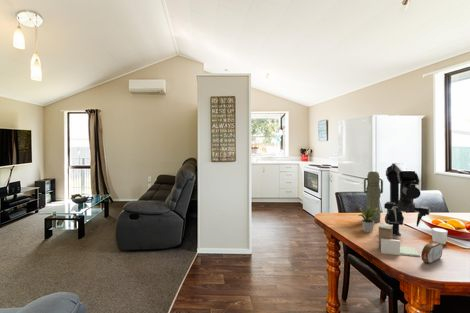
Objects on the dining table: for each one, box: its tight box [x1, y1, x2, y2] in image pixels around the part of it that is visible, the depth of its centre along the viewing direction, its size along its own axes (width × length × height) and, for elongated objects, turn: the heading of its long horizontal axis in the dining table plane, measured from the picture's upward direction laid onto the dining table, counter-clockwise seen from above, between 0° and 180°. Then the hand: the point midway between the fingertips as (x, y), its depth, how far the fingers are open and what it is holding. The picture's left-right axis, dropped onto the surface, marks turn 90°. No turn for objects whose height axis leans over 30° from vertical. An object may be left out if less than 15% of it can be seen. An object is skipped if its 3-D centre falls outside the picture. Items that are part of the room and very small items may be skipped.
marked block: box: [378, 222, 394, 251], centre depth 129 cm, size 6×6×12 cm
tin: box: [420, 241, 444, 264], centre depth 115 cm, size 15×3×8 cm, turn 118°
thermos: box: [363, 171, 384, 224], centre depth 174 cm, size 9×12×35 cm
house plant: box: [357, 205, 379, 233], centre depth 154 cm, size 14×14×16 cm
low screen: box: [380, 238, 401, 256], centre depth 123 cm, size 2×8×7 cm, turn 70°
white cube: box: [431, 227, 448, 245], centre depth 136 cm, size 7×7×7 cm
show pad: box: [399, 245, 421, 258], centre depth 125 cm, size 9×9×1 cm
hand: (406, 224), depth 126 cm, fingers open, 9 cm apart
